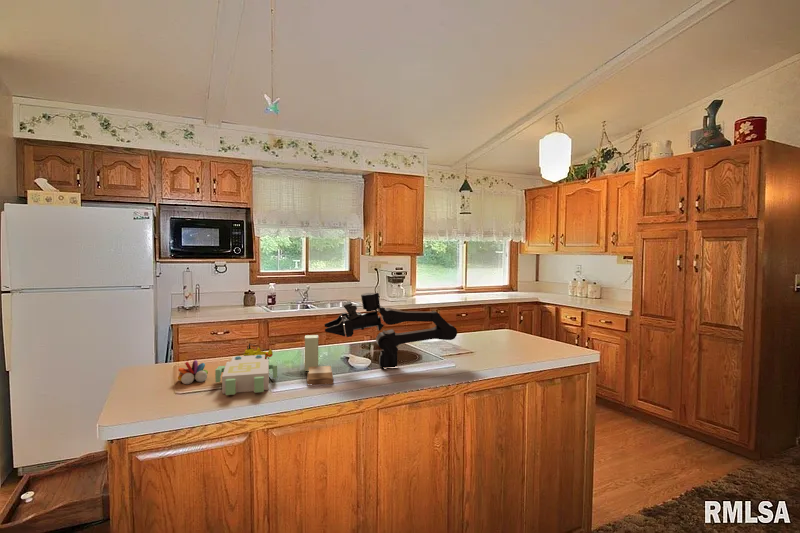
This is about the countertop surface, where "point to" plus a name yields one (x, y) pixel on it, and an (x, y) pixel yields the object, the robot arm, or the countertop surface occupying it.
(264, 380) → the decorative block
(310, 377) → the upper slab
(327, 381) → the lower slab
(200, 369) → the rainbow peg wheeled toy
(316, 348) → the pillar
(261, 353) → the toy helicopter
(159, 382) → the countertop surface
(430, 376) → the countertop surface
